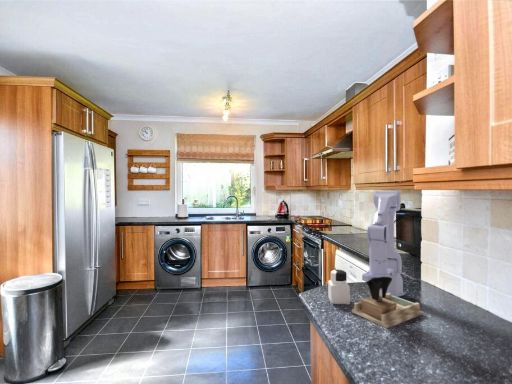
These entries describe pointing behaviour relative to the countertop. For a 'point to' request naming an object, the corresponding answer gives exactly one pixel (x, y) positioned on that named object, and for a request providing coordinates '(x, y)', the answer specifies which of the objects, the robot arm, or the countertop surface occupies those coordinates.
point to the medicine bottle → (338, 288)
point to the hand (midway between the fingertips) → (378, 298)
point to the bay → (392, 312)
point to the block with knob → (377, 306)
